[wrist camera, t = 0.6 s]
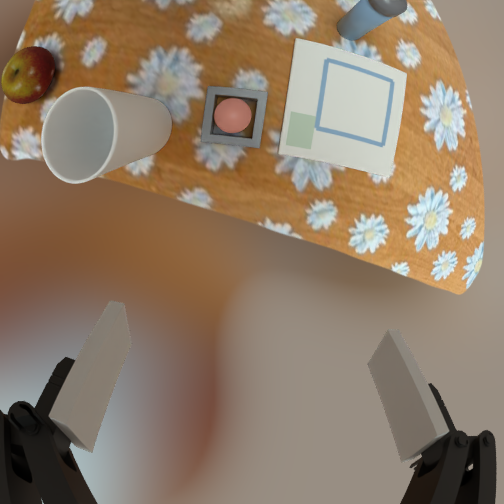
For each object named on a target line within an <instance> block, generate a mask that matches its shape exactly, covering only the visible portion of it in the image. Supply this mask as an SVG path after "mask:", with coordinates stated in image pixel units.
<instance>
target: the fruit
mask: <svg viewBox="0 0 504 504" xmlns="http://www.w3.org/2000/svg"><path fill="white" fill-rule="evenodd" d="M54 71H55V61H54V58H53V56H52V54H51V53H50V52H49V51H48V50H46V49H45V48H42V47H36V46H33V47H27V48H24V49H22V50H20V51H19V52H17V53H16V54H15V55H14V56H13V57H12V58H11V59H10V61H9V62H8V64H7V65H6V67H5V69H4V72H3V74H2V79H1V84H2V89H3V92H4V94H5V95H6V97H7V98H8V99H10V100H11V101H13V102H15V103H19V104H27V103H31V102H33V101H35V100H37V99H39V98H40V97H41V96H42V95H43V94H44V93H45V91H46V90H47V89H48V87H49V85H50V83H51V81H52V78H53V75H54Z"/></svg>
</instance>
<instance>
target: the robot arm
mask: <svg viewBox="0 0 504 504" xmlns="http://www.w3.org/2000/svg"><path fill="white" fill-rule="evenodd" d="M131 344H132V343H131V338H130V333H129V327H128V322H127V316H126V311H125V304H124V303H120V302H115V301H110V302H109V303H108V305H107V307H106V308H105V310H104V311H103V313H102V315H101V317H100V318H99V320H98V322H97V323H96V325H95V327H94V328H93V330H92V332H91V334H90V335H89V337H88V339H87V340H86V342H85V344H84V346H83V348H82V349H81V351H80V353H79V355H78V357H77V359H76V360H73V359H70V358H68V357H65V358H64V359H63V360H62V361H61V362H60V363H58V364H57V366H56V368H55V369H54V371H53V373H52V376H51V377H50V379H49V382H48V383H47V384H46V386H45V389H44V390H43V392H42V394H41V396H40V398H39V400H38V402H37V405H36V406H35V408H34V407H33V406H32V405H30V404H29V403H27V402H25V401H18V402H16V403H14V404H13V405H12V406H11V407H10V409H9V411H8V415H6V414H3V412H2V411H1V410H0V504H42V500H43V503H44V504H97V502H96V500H95V498H94V497H93V495H92V493H91V491H90V489H89V487H88V485H87V484H86V482H85V480H84V478H83V476H82V474H81V471H80V469H79V467H78V465H77V463H76V461H75V459H74V456H73V454H72V451H71V449H70V448H69V447H70V444H71V442H72V443H73V444H74V445H75V446H76V447H78V448H81V449H83V450H86V451H88V452H91V453H92V452H93V448H94V445H95V441H96V438H97V435H98V432H99V429H100V426H101V423H102V420H103V417H104V414H105V411H106V409H107V406H108V403H109V400H110V397H111V395H112V392H113V389H114V387H115V384H116V381H117V379H118V376H119V374H120V371H121V368H122V366H123V363H124V361H125V359H126V356H127V353H128V351H129V349H130V346H131ZM368 366H369V369H370V372H371V374H372V377H373V379H374V382H375V385H376V388H377V390H378V393H379V396H380V399H381V402H382V404H383V407H384V410H385V413H386V416H387V419H388V422H389V424H390V428H391V431H392V434H393V437H394V440H395V443H396V446H397V449H398V453H399V456H400V460H401V462H405V461H408V460H411V459H414V458H415V457H416V456H418V455H420V454H421V455H422V457H421V458H420V459H419V460H417V461H416V462H414V463H413V464H411V466H410V468H412V467H413V466H415V465H417V466H416V467H415V468H414V470H415V472H414V474H413V477H412V479H411V481H410V484H409V486H408V488H407V491H406V493H405V495H404V497H403V499H402V501H401V503H400V504H495V497H496V448H495V447H496V446H495V438H494V436H493V434H492V433H491V432H490V431H488V430H485V431H483V432H482V433H480V434H479V435H478V436H467V435H466V433H464V432H463V431H457V430H456V429H455V426H454V424H453V422H452V420H451V417H450V415H449V413H448V411H447V409H446V407H445V406H444V402H443V400H441V396H440V394H439V392H438V390H437V389H436V388H435V387H434V386H433V385H432V384H431V383H430V384H428V383H427V381H426V379H425V377H424V375H423V373H422V371H421V369H420V368H419V366H418V364H417V362H416V360H415V358H414V356H413V354H412V352H411V351H410V349H409V347H408V345H407V343H406V341H405V340H404V338H403V336H402V334H401V332H400V331H399V330H387V332H386V334H385V336H384V337H383V339H382V341H381V342H380V344H379V346H378V348H377V350H376V351H375V353H374V354H373V356H372V358H371V359H370V361H369V362H368ZM471 464H473V469H471V470H469V469H468V466H470V465H471ZM41 499H42V500H41Z"/></svg>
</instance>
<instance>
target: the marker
mask: <svg viewBox="0 0 504 504" xmlns="http://www.w3.org/2000/svg"><path fill="white" fill-rule="evenodd" d="M406 9H407V2H406V0H360V1H359V2H358V3H357V4H356V5H355V6H354V7H353V8H352V9H351V10H350V11H349V12H348V13H347V14H346V15H345V16H344V17H343V18H342V19H341V20H340V21H339V22H338V23H337V30H338V32H339V34H340V35H341V36H342V37H344V38H345V39H348V40H357V39H359V38H361V37H362V36H364V35H365V34H367V33H368V32H370V31H371V30H373V29H374V28H376V27H378V26H379V25H381V24H382V23H384V22H386V21H387V20H389V19H391V18H392V17H396V16H398V15H400V14H401V13H403V12H405V11H406Z"/></svg>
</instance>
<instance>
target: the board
mask: <svg viewBox="0 0 504 504" xmlns="http://www.w3.org/2000/svg"><path fill="white" fill-rule="evenodd" d="M406 77H407V73H404V72H402V71H400V70H398V69H395V68H393V67H390V66H388V65H385V64H383V63H380V62H378V61H375V60H372V59H369V58H367V57H364V56H361V55H358V54H355V53H352V52H349V51H345V50H342V49H339V48H335V47H331V46H328V45H324V44H320V43H316V42H312V41H307V40H302V39H298V38H296V39H295V44H294V51H293V57H292V64H291V71H290V78H289V84H288V91H287V98H286V104H285V111H284V117H283V124H282V130H281V136H280V143H279V149H278V154H281V155H288V156H294V157H299V158H305V159H310V160H315V161H321V162H326V163H330V164H335V165H340V166H344V167H349V168H353V169H357V170H361V171H365V172H369V173H373V174H377V175H381V176H385V177H388V178H390V174H391V169H392V165H393V160H394V156H395V151H396V146H397V140H398V135H399V129H400V123H401V117H402V110H403V103H404V95H405V87H406Z"/></svg>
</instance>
